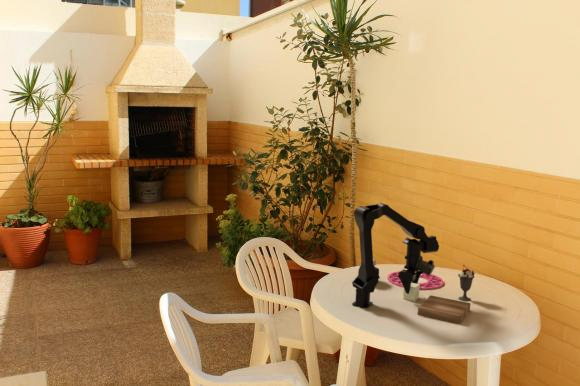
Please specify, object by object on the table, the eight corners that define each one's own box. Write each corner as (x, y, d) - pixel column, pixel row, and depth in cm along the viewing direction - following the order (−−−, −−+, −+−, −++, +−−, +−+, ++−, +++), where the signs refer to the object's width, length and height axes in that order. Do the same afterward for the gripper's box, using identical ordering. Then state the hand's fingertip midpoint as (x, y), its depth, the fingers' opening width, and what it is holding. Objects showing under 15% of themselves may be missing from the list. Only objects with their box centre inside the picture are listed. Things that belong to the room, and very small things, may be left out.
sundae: (454, 300, 234) (457, 265, 232) (458, 295, 240) (460, 261, 238) (471, 303, 231) (474, 267, 229) (474, 298, 237) (477, 263, 235)
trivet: (395, 290, 245) (395, 288, 245) (381, 272, 270) (381, 270, 270) (451, 290, 247) (451, 288, 247) (433, 272, 272) (433, 270, 271)
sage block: (414, 301, 231) (415, 287, 231) (403, 299, 234) (404, 285, 233) (418, 298, 236) (419, 284, 235) (407, 295, 238) (407, 282, 237)
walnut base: (459, 323, 209) (460, 316, 209) (417, 314, 217) (418, 307, 217) (470, 310, 223) (470, 303, 222) (429, 302, 231) (430, 295, 230)
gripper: (426, 262, 220) (423, 300, 222) (439, 251, 236) (437, 287, 238) (398, 257, 225) (396, 295, 228) (413, 247, 241) (411, 283, 244)
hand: (411, 290), depth 234 cm, fingers open, 9 cm apart
